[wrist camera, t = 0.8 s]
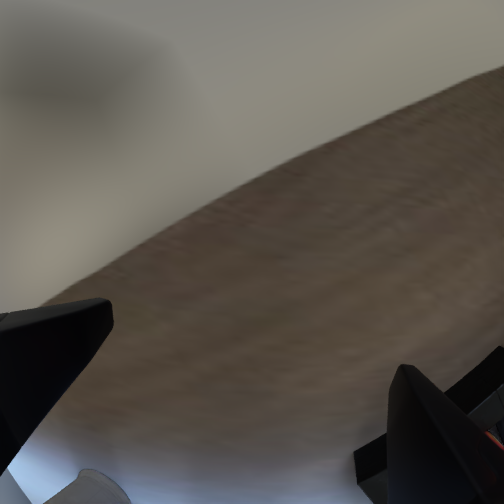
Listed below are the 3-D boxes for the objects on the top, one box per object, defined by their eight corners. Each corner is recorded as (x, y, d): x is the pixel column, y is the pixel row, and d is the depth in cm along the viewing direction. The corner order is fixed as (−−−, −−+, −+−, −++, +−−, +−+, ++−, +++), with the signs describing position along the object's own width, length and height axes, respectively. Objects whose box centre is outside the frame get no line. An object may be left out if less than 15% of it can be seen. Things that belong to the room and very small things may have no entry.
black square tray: (413, 525, 21) (420, 554, 16) (352, 451, 23) (356, 484, 18) (534, 439, 19) (555, 458, 14) (500, 343, 21) (529, 357, 16)
